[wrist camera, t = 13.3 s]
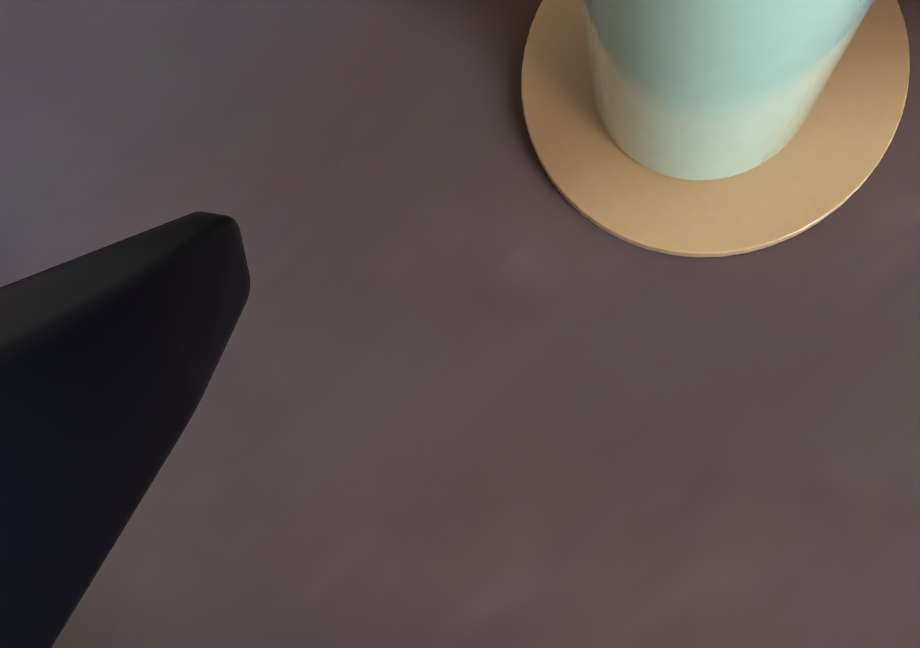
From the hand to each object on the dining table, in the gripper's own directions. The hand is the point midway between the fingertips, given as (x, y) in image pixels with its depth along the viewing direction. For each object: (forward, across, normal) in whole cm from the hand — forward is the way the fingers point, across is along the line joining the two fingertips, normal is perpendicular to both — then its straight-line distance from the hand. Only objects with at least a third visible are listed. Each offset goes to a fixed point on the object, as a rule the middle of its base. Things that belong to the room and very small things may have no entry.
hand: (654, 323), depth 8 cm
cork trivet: (+14, 0, +3) cm, 14 cm away
